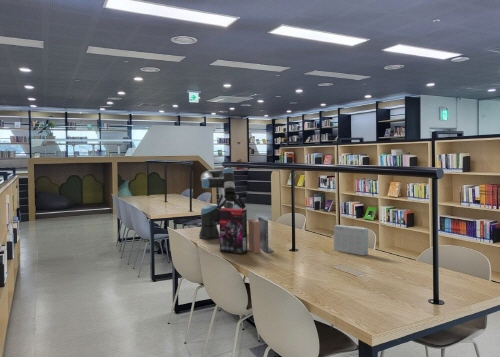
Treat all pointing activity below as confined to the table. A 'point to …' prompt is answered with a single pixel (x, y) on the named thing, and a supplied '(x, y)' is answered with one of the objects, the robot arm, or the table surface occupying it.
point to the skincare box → (351, 239)
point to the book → (254, 236)
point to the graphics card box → (233, 230)
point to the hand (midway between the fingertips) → (232, 217)
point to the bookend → (264, 235)
